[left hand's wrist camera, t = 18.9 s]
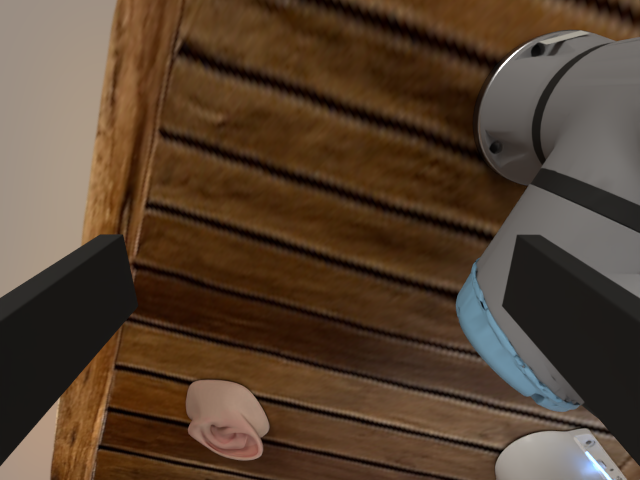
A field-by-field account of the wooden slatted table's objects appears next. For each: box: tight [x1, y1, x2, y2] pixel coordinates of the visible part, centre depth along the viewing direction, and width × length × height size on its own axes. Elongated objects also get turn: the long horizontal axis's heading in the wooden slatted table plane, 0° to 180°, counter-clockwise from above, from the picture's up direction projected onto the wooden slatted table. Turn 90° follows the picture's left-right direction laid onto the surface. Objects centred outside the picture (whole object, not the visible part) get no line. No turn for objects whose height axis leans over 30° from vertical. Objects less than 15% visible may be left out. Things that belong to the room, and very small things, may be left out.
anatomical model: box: [186, 380, 269, 460], centre depth 53 cm, size 13×4×12 cm
